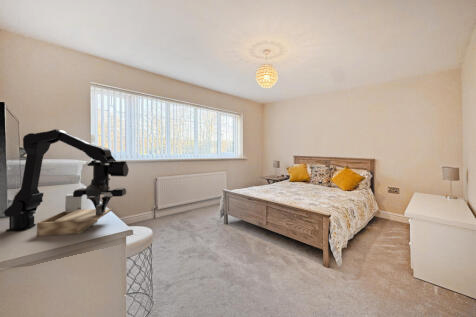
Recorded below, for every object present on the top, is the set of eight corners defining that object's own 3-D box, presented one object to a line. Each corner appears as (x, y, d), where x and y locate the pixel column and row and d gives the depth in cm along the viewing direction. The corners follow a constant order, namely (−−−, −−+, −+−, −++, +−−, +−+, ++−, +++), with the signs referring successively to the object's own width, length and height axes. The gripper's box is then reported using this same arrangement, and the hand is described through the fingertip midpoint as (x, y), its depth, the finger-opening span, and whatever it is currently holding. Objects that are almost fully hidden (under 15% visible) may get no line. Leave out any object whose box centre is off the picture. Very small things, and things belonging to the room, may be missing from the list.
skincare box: (64, 221, 95) (64, 195, 95) (66, 219, 99) (66, 194, 98) (81, 219, 98) (81, 194, 98) (82, 217, 102) (82, 192, 102)
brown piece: (36, 236, 78) (36, 223, 78) (63, 222, 94) (63, 211, 94) (78, 234, 81) (78, 221, 81) (97, 221, 97) (97, 210, 97)
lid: (54, 222, 79) (54, 210, 79) (78, 210, 95) (78, 200, 95) (95, 220, 82) (96, 209, 82) (112, 209, 98) (112, 200, 98)
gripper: (64, 178, 80) (64, 218, 80) (117, 178, 83) (117, 216, 84) (80, 175, 91) (80, 210, 91) (126, 175, 94) (126, 209, 95)
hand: (100, 212), depth 90 cm, fingers closed on lid, 2 cm apart
